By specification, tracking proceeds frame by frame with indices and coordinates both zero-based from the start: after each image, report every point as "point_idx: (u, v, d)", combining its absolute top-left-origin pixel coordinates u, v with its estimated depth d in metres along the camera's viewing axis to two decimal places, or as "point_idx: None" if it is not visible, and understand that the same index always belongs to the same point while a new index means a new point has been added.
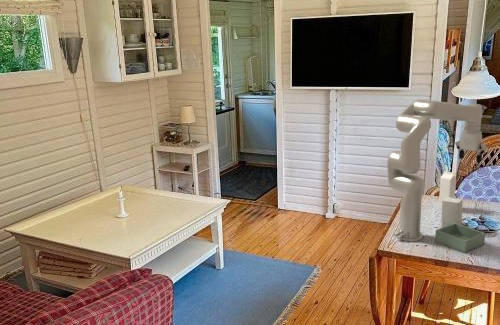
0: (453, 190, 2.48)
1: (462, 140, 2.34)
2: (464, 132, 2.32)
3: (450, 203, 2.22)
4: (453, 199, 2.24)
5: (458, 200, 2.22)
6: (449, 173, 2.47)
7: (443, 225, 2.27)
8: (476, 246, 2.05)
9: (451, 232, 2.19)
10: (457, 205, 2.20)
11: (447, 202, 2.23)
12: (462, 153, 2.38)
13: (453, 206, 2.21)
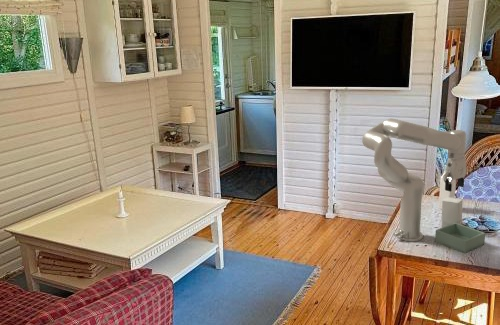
0: (453, 190, 2.49)
1: (456, 171, 2.16)
2: (457, 161, 2.15)
3: (450, 203, 2.22)
4: (453, 199, 2.24)
5: (458, 200, 2.22)
6: None
7: (443, 225, 2.27)
8: (476, 246, 2.05)
9: (451, 232, 2.19)
10: (457, 205, 2.20)
11: (447, 202, 2.23)
12: None
13: (453, 206, 2.21)
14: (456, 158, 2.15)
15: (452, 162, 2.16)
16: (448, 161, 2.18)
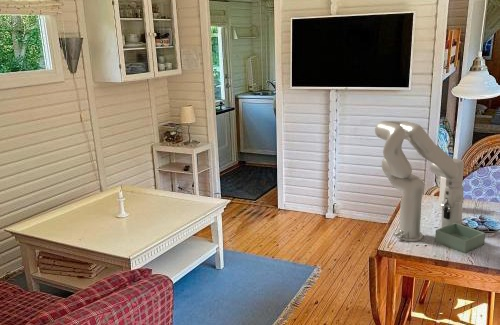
0: None
1: (453, 199, 2.20)
2: (455, 190, 2.19)
3: None
4: None
5: None
6: None
7: (443, 225, 2.27)
8: (476, 246, 2.05)
9: (451, 232, 2.19)
10: (457, 205, 2.20)
11: None
12: None
13: None
14: (454, 186, 2.19)
15: (450, 190, 2.19)
16: (446, 189, 2.21)
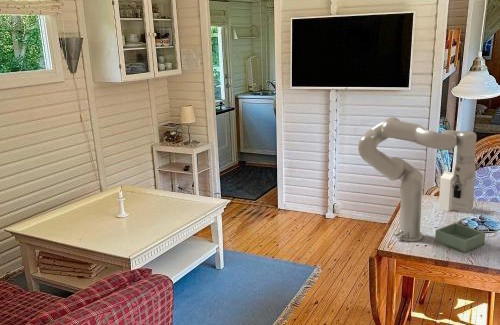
0: None
1: (465, 176, 1.99)
2: (466, 165, 1.98)
3: None
4: None
5: None
6: (449, 173, 2.47)
7: (453, 205, 2.06)
8: (476, 246, 2.05)
9: (451, 232, 2.19)
10: (469, 182, 1.99)
11: (458, 180, 2.02)
12: None
13: None
14: (465, 162, 1.98)
15: (461, 166, 1.98)
16: (457, 165, 2.00)
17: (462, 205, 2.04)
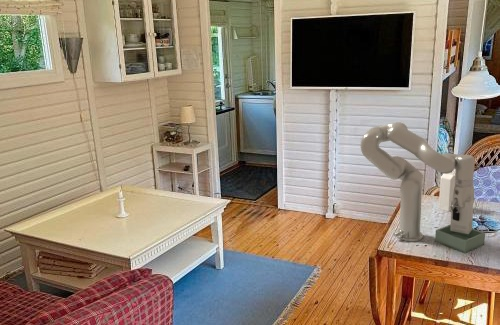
0: (453, 190, 2.48)
1: (463, 199, 2.01)
2: (465, 189, 2.01)
3: None
4: None
5: None
6: (449, 173, 2.47)
7: (452, 227, 2.09)
8: (476, 246, 2.05)
9: (451, 232, 2.19)
10: (468, 205, 2.02)
11: None
12: None
13: None
14: (464, 185, 2.00)
15: (459, 189, 2.01)
16: (455, 188, 2.03)
17: (461, 227, 2.06)
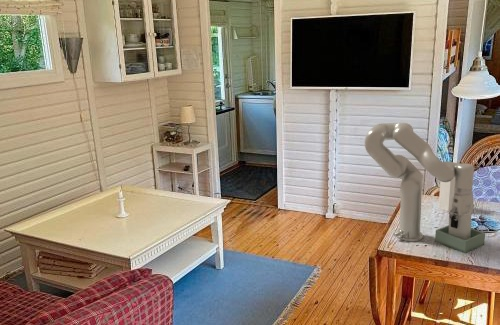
0: (453, 190, 2.48)
1: (462, 207, 2.02)
2: (464, 197, 2.02)
3: None
4: None
5: None
6: None
7: None
8: (476, 246, 2.05)
9: None
10: (465, 217, 2.03)
11: None
12: None
13: (461, 218, 2.04)
14: (463, 194, 2.01)
15: (459, 198, 2.02)
16: (454, 196, 2.04)
17: None
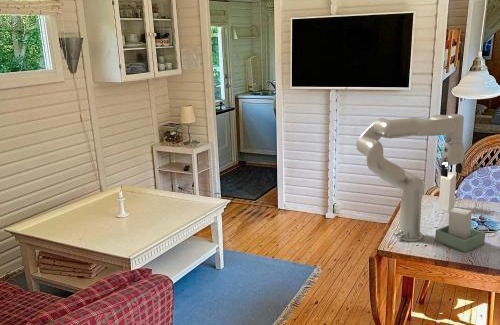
0: (453, 190, 2.48)
1: (452, 156, 2.11)
2: (454, 146, 2.10)
3: (458, 214, 2.05)
4: (461, 210, 2.07)
5: (467, 211, 2.05)
6: (449, 173, 2.47)
7: None
8: (476, 246, 2.05)
9: None
10: (465, 217, 2.03)
11: (454, 214, 2.06)
12: None
13: (461, 218, 2.04)
14: (453, 142, 2.10)
15: (448, 147, 2.10)
16: (445, 146, 2.12)
17: None
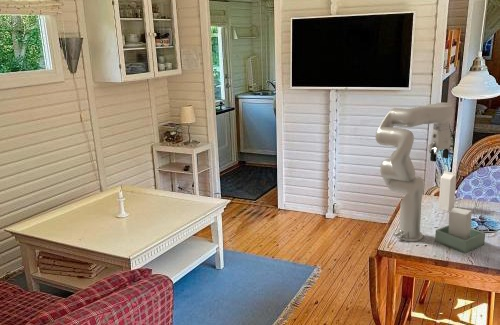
0: (453, 190, 2.48)
1: (440, 142, 2.25)
2: (442, 132, 2.24)
3: (458, 214, 2.05)
4: (461, 210, 2.07)
5: (467, 211, 2.05)
6: (449, 173, 2.47)
7: None
8: (476, 246, 2.05)
9: None
10: (465, 217, 2.03)
11: (454, 214, 2.06)
12: None
13: (461, 218, 2.04)
14: (441, 129, 2.24)
15: (437, 133, 2.24)
16: (433, 132, 2.26)
17: None
